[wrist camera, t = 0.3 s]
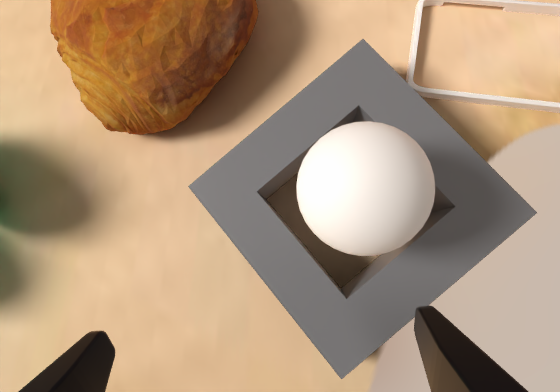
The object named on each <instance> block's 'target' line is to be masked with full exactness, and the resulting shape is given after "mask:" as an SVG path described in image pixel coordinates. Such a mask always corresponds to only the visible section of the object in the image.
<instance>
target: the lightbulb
mask: <svg viewBox="0 0 560 392" xmlns="http://www.w3.org/2000/svg"><path fill="white" fill-rule="evenodd" d="M296 187H297V200H298V204H299V208H300V211H301V213H302V216H303V218H304V220H305V222H306V223H307V225H308V226H309V228H310V229H311V230H312V232H313V233H314V234H315V235H316V236H317V237H318V238H319V239H320V240H322V241H323V242H324V243H326V244H327V245H329V246H331V247H332V248H334V249H336V250H339V251H342V252H344V253H347V254H352V255H358V256H375V255H380V254H384V253H388V252H390V251H393V250H395V249H397V248H400V247H401V246H403V245H404V244H405V243H407V242H408V241H410V240H411V239H412V238H413V237H414V236H415V235H416V234H417V233H418V232H419V231H420V230H421V228H422V227H423V226H424V224H425V222H426V221H427V219H428V217H429V216H430V213H431V210H432V207H433V204H434V197H435V180H434V174H433V170H432V167H431V164H430V161H429V159H428V158H427V156H426V154H425V152H424V151H423V149H422V148H421V147H420V146H419V144H418V143H417V142H416V141H415V140H414V139H412V138H411V137H410V136H409V135H408V134H406V133H405V132H403V131H401V130H399V129H397V128H396V127H393V126H390V125H387V124H384V123H378V122H370V121H365V122H353V123H349V124H345V125H342V126H340V127H337V128H335V129H333V130H331V131H329V132H328V133H327V134H325V135H324V136H322V137H321V138H320V139H319V140H318V141H317V142H316V143H315V144H314V145H313V146H312V147H311V148H310V150H309V151H308V153H307V154H306V156H305V158H304V159H303V161H302V164H301V167H300V169H299V172H298V178H297V184H296Z"/></svg>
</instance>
